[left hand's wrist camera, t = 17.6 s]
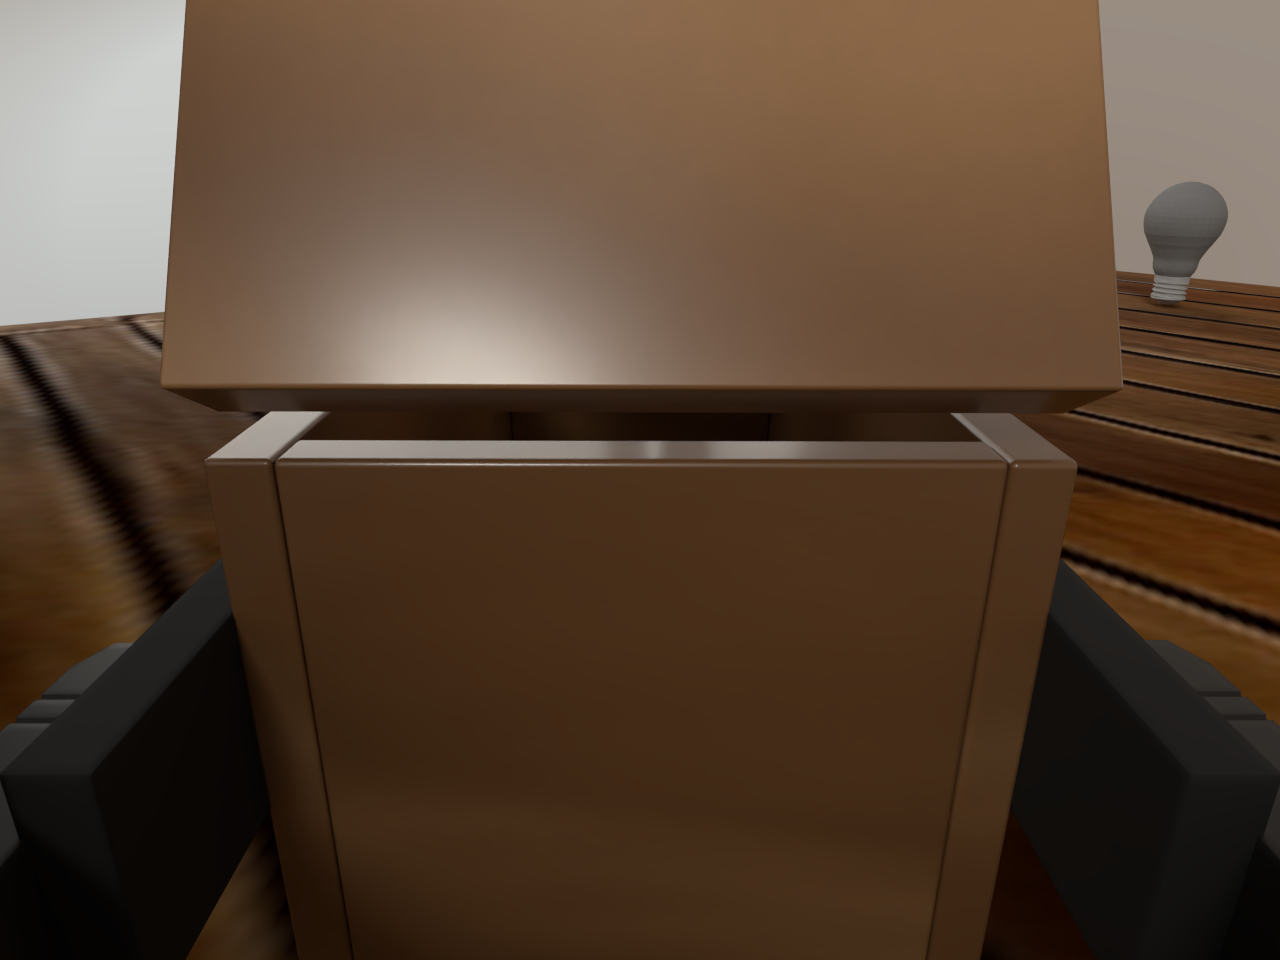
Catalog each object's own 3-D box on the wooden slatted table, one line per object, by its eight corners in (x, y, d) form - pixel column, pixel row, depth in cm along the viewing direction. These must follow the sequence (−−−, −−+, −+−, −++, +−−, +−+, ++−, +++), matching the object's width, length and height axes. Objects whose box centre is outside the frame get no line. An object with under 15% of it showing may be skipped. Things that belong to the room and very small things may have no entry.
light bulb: (1144, 308, 73) (1170, 183, 70) (1116, 297, 79) (1139, 180, 75) (1220, 310, 72) (1250, 183, 69) (1187, 298, 78) (1213, 180, 74)
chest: (499, 565, 28) (480, 256, 24) (779, 565, 28) (801, 257, 24) (323, 1098, 12) (199, 459, 9) (954, 1099, 12) (1081, 461, 9)
